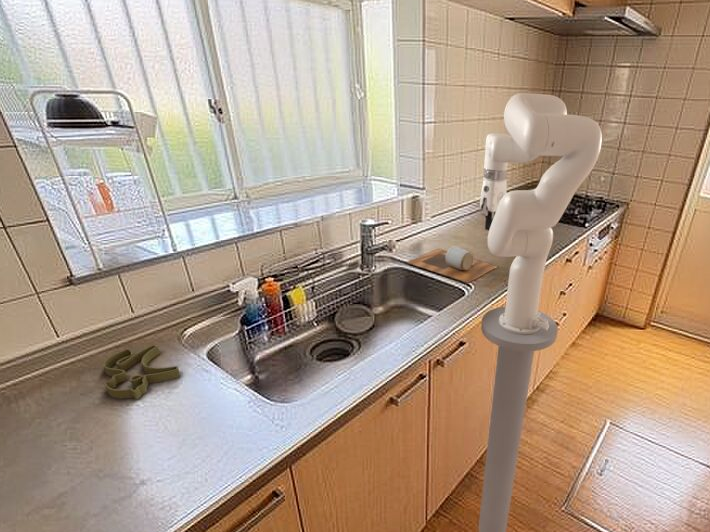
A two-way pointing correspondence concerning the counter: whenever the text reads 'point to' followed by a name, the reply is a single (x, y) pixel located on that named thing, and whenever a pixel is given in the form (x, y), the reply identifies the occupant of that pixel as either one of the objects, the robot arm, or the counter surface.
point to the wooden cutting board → (438, 264)
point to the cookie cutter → (138, 381)
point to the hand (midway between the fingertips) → (490, 229)
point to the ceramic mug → (459, 258)
